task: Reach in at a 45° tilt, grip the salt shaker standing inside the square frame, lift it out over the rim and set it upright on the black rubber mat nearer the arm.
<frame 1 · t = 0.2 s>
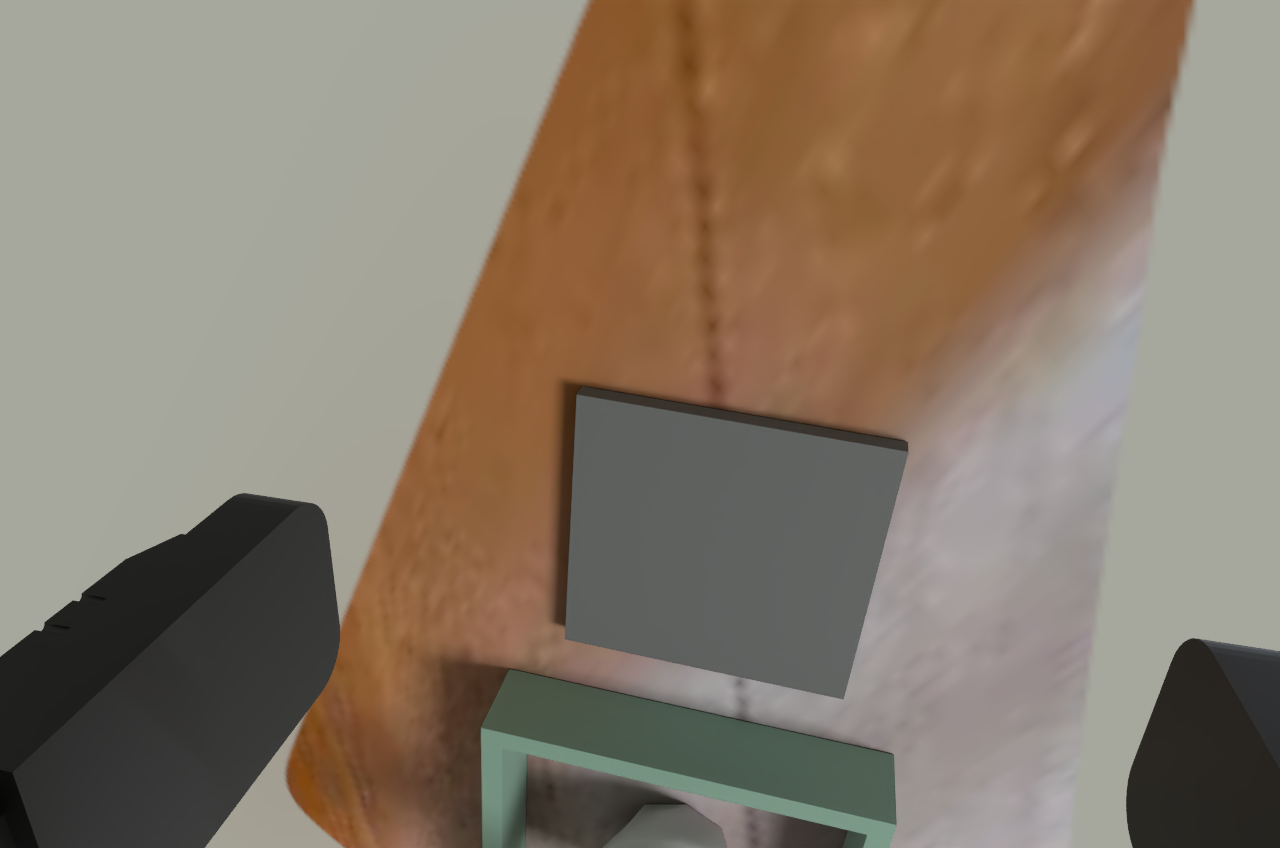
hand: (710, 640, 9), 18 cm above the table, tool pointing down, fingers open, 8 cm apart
rubber mat: (720, 545, 30), on the table
square frame: (676, 836, 37), on the table
salt shaker: (677, 831, 37), resting in square frame
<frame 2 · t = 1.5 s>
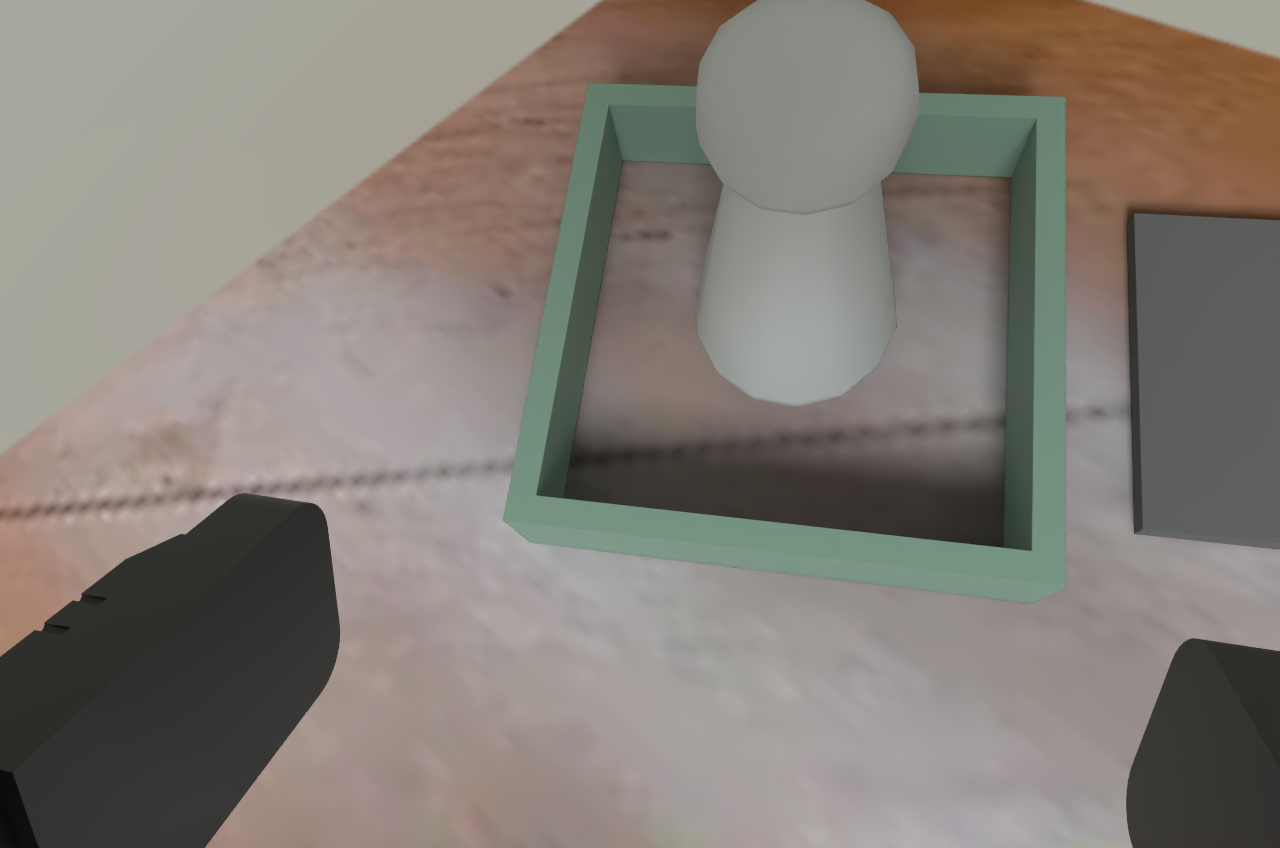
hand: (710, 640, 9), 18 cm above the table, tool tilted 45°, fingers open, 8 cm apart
square frame: (792, 343, 29), on the table
salt shaker: (792, 346, 29), resting in square frame
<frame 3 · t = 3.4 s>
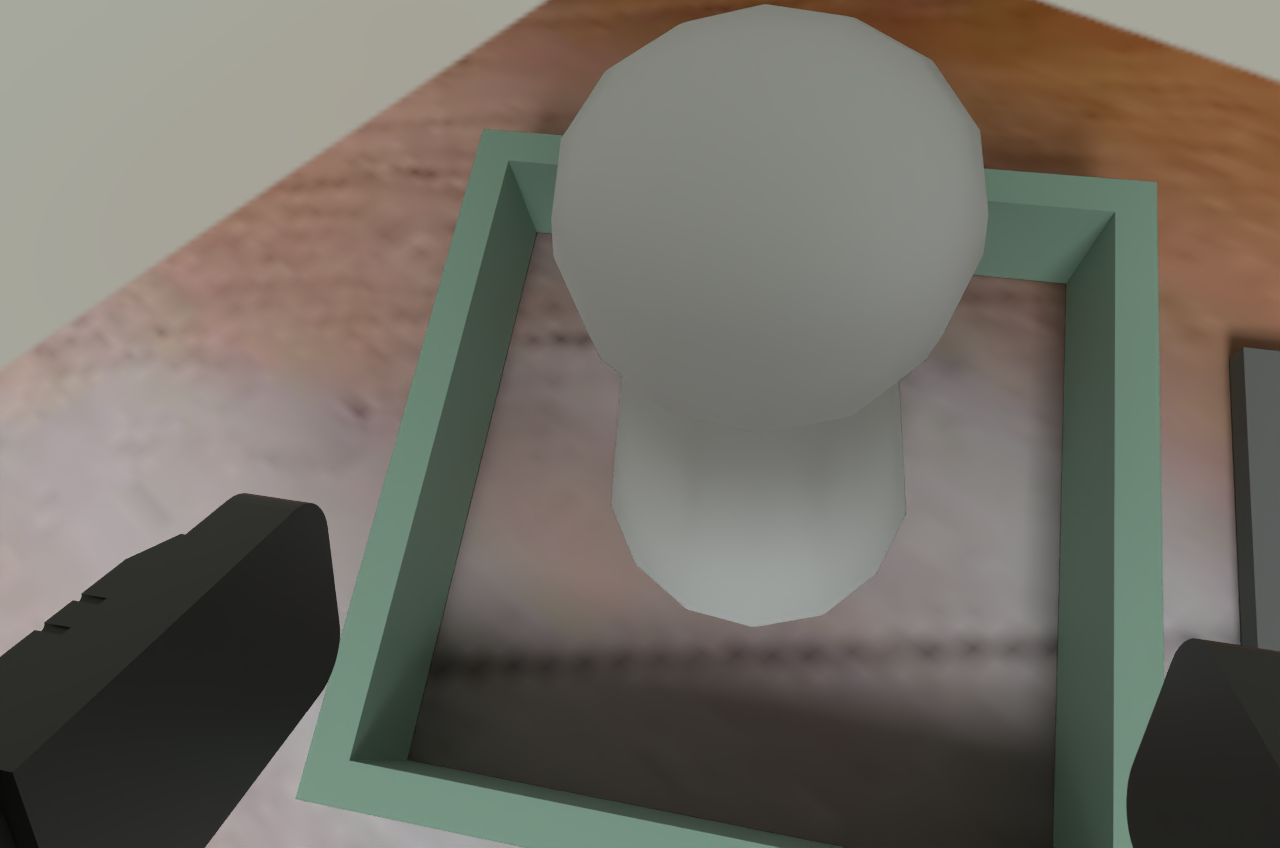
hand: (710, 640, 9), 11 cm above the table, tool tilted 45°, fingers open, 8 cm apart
square frame: (754, 509, 20), on the table
salt shaker: (754, 511, 20), resting in square frame
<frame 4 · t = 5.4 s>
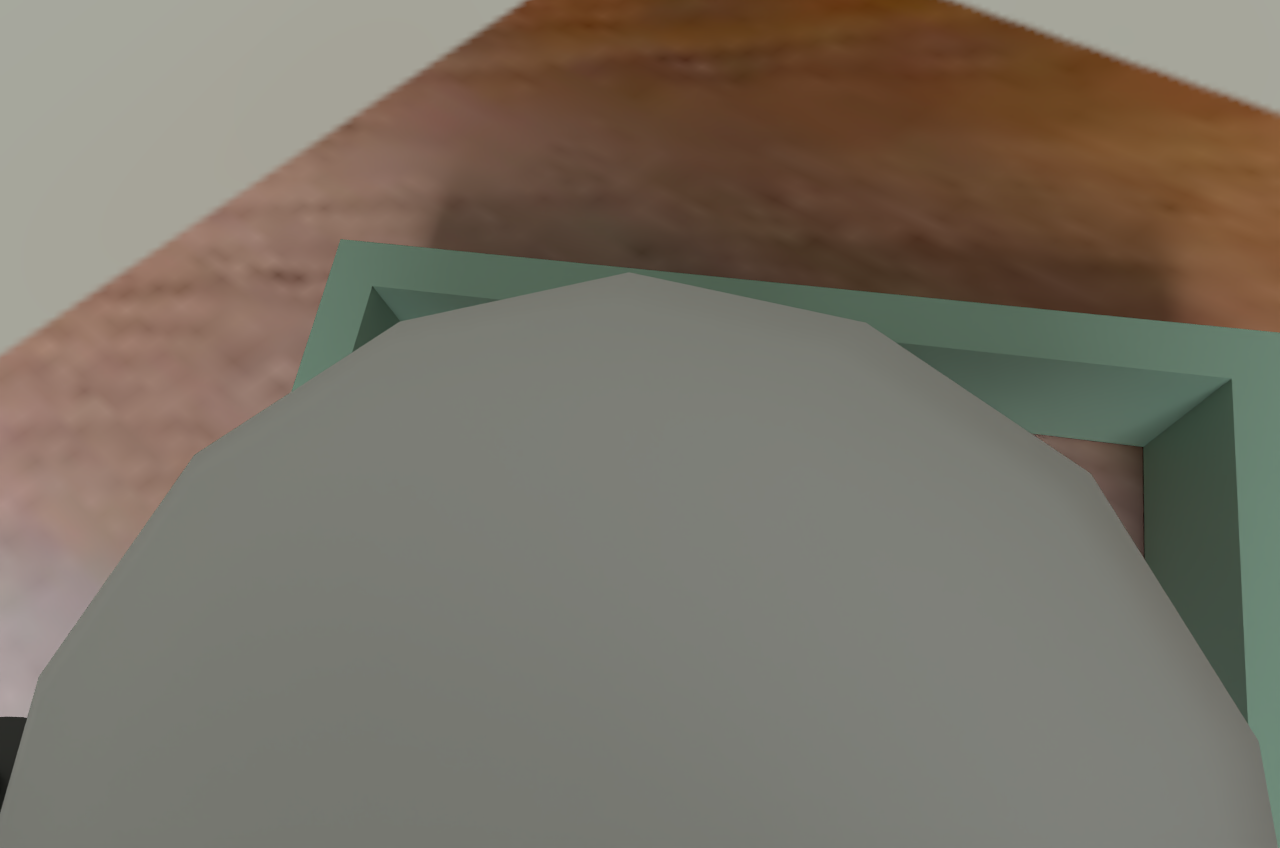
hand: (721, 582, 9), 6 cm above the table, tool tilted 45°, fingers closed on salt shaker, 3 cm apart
square frame: (714, 775, 14), on the table
salt shaker: (714, 775, 15), resting in square frame, touching gripper
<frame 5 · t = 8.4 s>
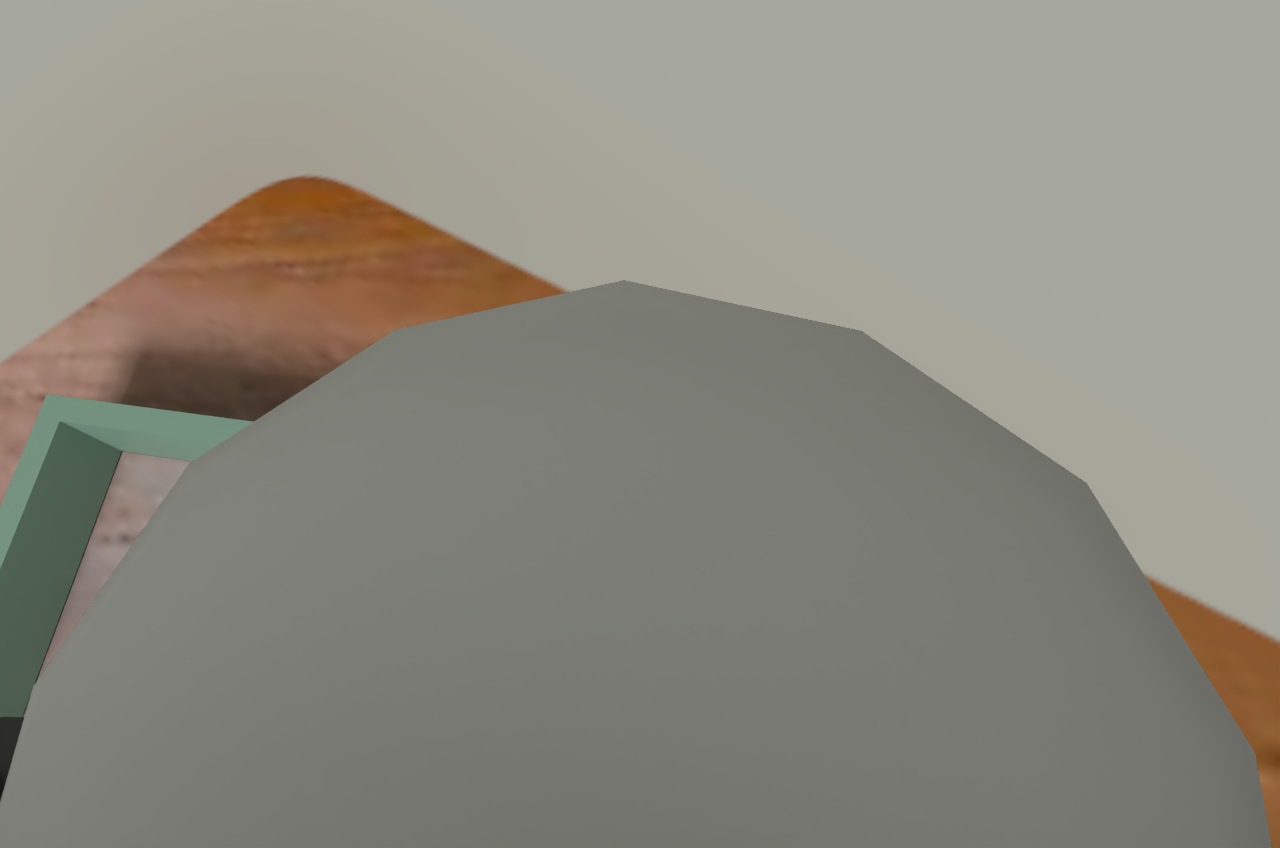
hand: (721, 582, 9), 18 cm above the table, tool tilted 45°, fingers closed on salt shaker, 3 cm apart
square frame: (235, 676, 28), on the table
salt shaker: (714, 777, 15), point 12 cm above the table, touching gripper
when the fingers open (8 cm above the table, at t = 11.0 s): salt shaker moves 1 cm, resting on rubber mat.
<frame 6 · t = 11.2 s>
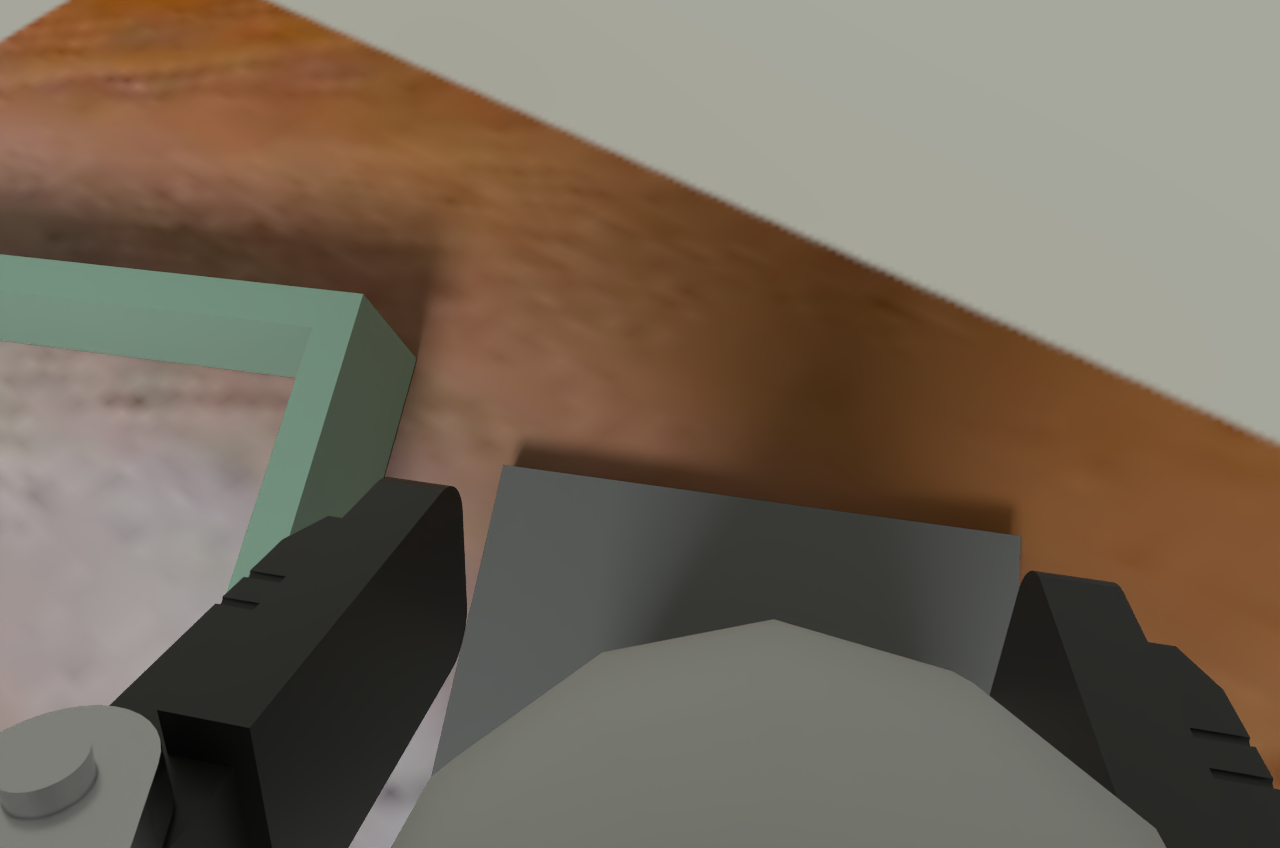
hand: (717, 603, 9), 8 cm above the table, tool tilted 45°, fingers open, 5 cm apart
rubber mat: (714, 771, 16), on the table
salt shaker: (748, 833, 16), resting on rubber mat
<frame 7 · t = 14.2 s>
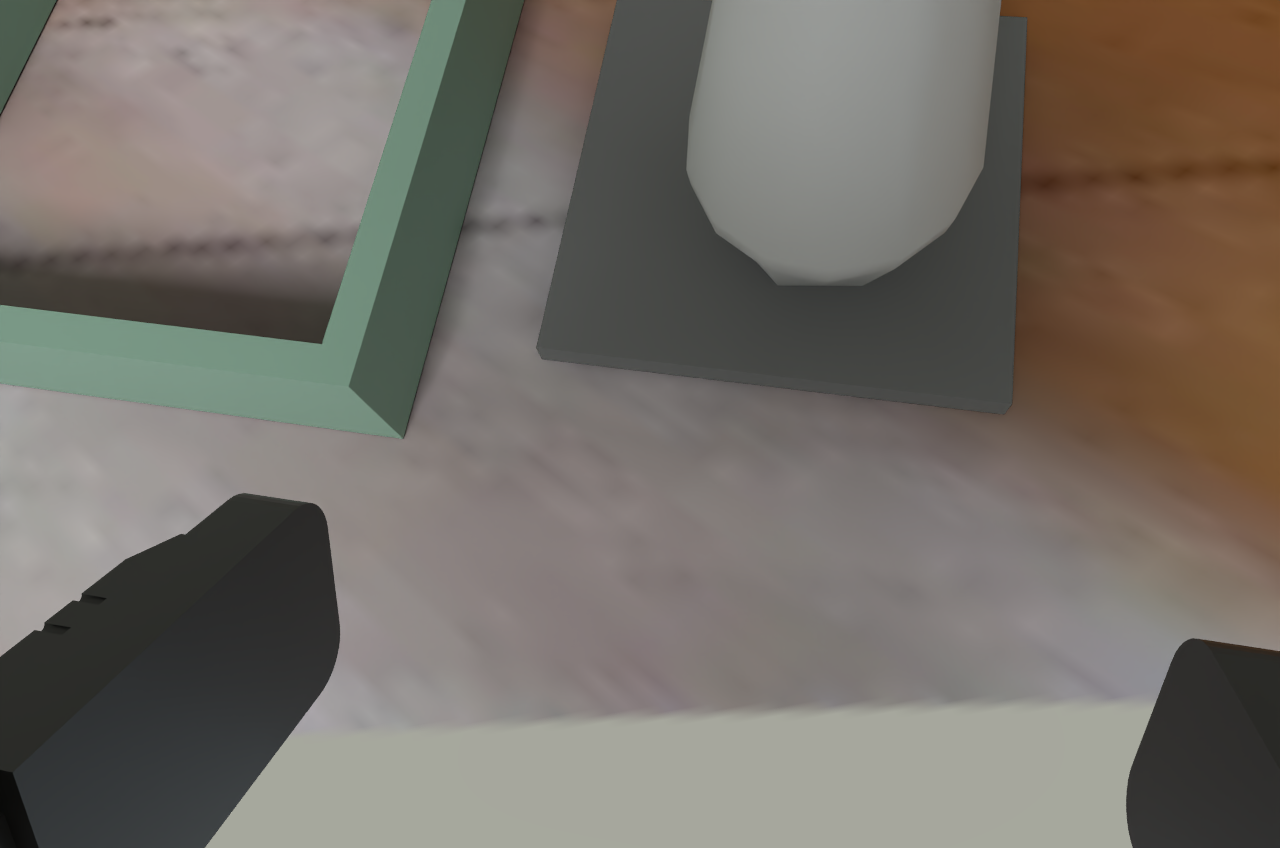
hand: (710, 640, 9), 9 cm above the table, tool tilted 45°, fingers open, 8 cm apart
rubber mat: (790, 191, 21), on the table
square frame: (212, 141, 23), on the table
salt shaker: (819, 216, 20), resting on rubber mat
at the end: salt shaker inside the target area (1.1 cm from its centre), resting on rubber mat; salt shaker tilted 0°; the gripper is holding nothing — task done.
